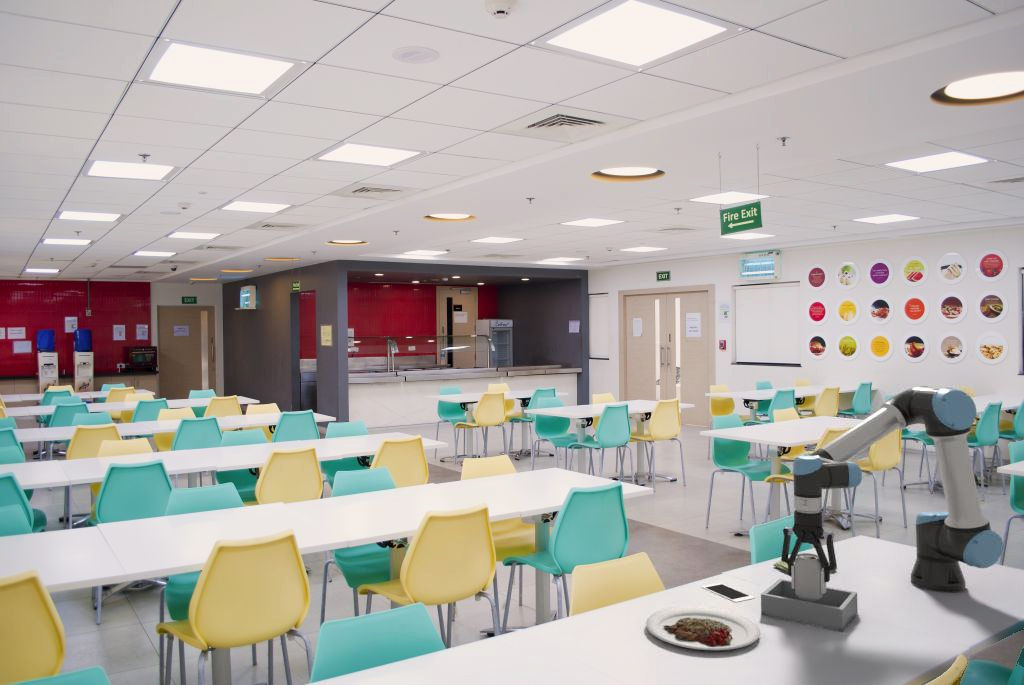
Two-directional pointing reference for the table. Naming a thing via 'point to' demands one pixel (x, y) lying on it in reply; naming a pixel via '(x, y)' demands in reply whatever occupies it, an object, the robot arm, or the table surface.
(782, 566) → the washcloth
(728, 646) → the plated food
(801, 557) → the can
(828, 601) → the bin
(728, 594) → the cell phone
